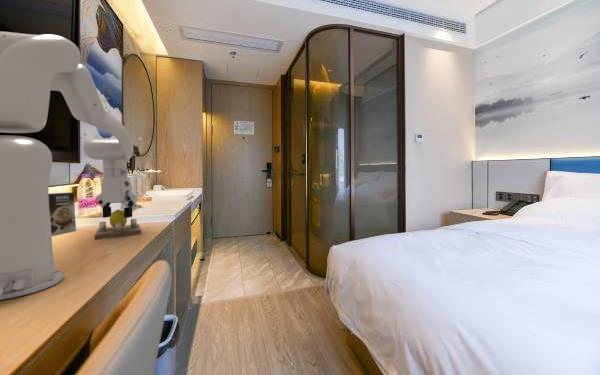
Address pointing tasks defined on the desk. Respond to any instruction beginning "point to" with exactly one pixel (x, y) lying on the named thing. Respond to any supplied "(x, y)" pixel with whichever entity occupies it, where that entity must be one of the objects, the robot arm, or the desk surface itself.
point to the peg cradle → (117, 230)
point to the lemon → (117, 218)
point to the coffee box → (62, 213)
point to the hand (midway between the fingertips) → (117, 217)
